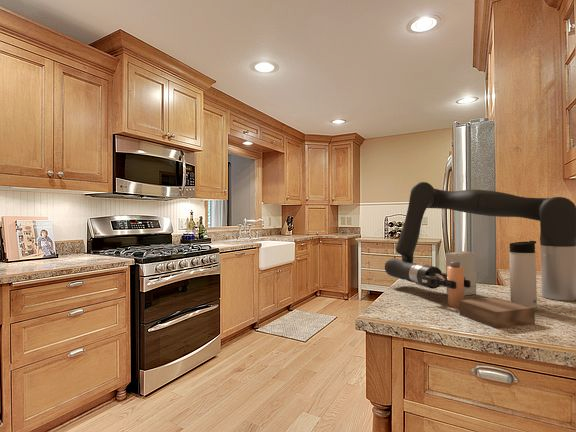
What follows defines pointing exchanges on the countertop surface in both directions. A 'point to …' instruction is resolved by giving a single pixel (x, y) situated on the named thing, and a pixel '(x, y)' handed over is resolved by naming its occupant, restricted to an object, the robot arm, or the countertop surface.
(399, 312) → the countertop surface
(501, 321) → the walnut plinth
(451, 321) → the countertop surface
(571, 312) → the countertop surface
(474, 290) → the skincare box
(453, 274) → the orange bottle
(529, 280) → the travel mug
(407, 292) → the countertop surface
